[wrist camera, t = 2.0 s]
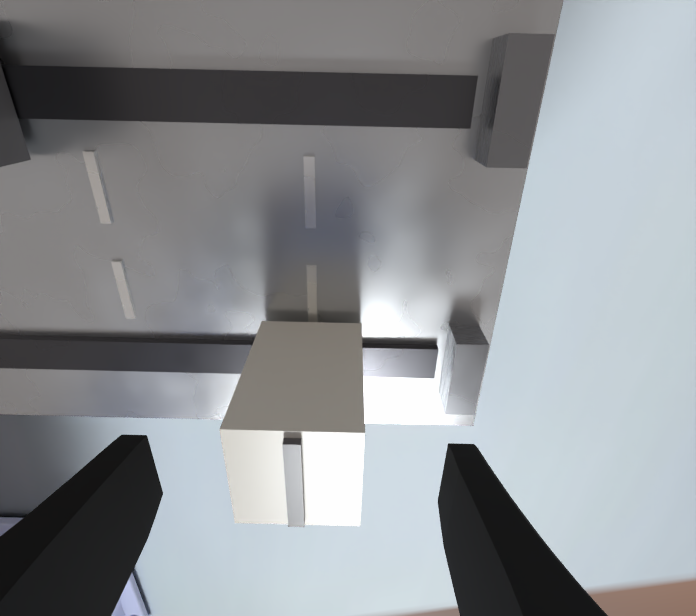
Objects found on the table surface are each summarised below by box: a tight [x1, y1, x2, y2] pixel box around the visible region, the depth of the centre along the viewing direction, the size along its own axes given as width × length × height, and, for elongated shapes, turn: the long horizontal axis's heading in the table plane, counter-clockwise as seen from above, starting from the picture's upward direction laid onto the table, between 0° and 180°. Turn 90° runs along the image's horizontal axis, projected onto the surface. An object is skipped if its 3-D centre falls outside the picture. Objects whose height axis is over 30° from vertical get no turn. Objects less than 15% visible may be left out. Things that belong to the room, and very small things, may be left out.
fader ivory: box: [220, 321, 365, 527], centre depth 12 cm, size 3×3×5 cm
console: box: [0, 0, 563, 426], centre depth 13 cm, size 14×24×2 cm, turn 89°
